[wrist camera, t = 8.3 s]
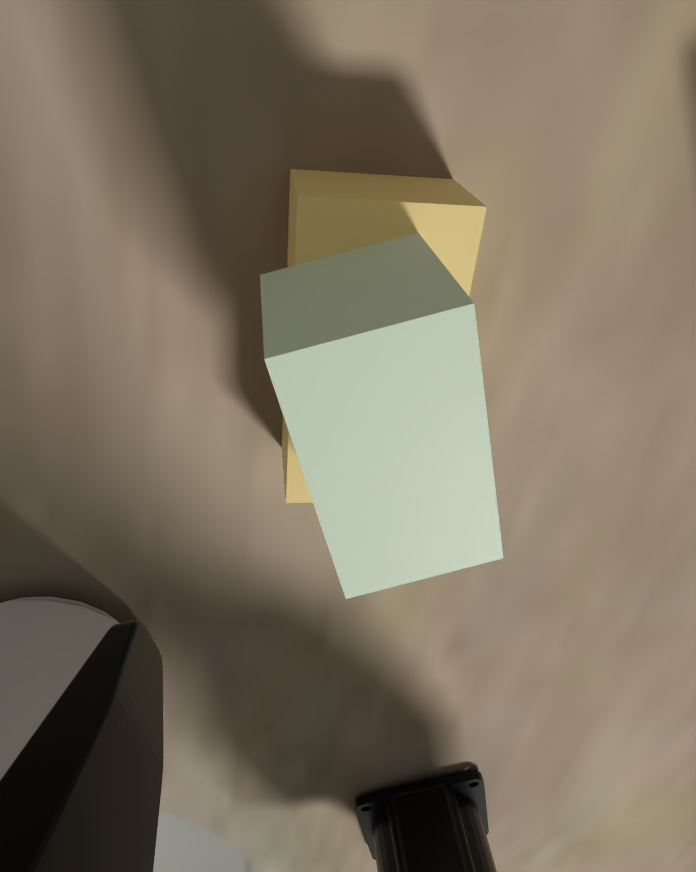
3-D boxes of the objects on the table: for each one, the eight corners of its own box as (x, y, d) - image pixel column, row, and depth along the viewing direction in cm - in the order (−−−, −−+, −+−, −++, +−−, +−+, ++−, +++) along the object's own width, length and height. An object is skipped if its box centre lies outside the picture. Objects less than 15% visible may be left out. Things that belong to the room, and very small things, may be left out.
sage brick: (452, 452, 17) (503, 557, 13) (326, 484, 17) (345, 598, 14) (418, 232, 13) (474, 303, 10) (260, 274, 13) (264, 359, 10)
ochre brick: (406, 440, 20) (428, 499, 18) (281, 441, 20) (285, 502, 17) (449, 176, 16) (486, 207, 13) (289, 166, 15) (297, 196, 13)
